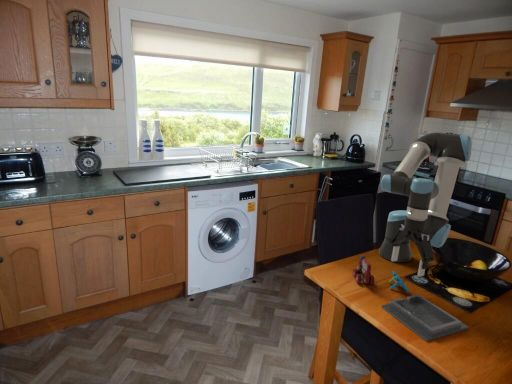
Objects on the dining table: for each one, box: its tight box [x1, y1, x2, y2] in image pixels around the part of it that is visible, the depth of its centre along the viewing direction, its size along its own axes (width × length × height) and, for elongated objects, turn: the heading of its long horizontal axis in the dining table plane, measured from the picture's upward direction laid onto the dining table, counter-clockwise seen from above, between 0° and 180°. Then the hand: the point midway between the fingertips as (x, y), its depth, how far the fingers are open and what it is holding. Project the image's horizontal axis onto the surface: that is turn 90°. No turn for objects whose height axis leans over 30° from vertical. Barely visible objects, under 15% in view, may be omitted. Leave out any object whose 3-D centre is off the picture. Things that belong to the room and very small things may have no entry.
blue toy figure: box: [388, 270, 411, 294], centre depth 140 cm, size 11×6×10 cm
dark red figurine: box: [352, 255, 375, 286], centre depth 145 cm, size 7×12×10 cm, turn 178°
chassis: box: [381, 293, 469, 342], centre depth 121 cm, size 20×20×3 cm
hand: (406, 268), depth 137 cm, fingers open, 13 cm apart
